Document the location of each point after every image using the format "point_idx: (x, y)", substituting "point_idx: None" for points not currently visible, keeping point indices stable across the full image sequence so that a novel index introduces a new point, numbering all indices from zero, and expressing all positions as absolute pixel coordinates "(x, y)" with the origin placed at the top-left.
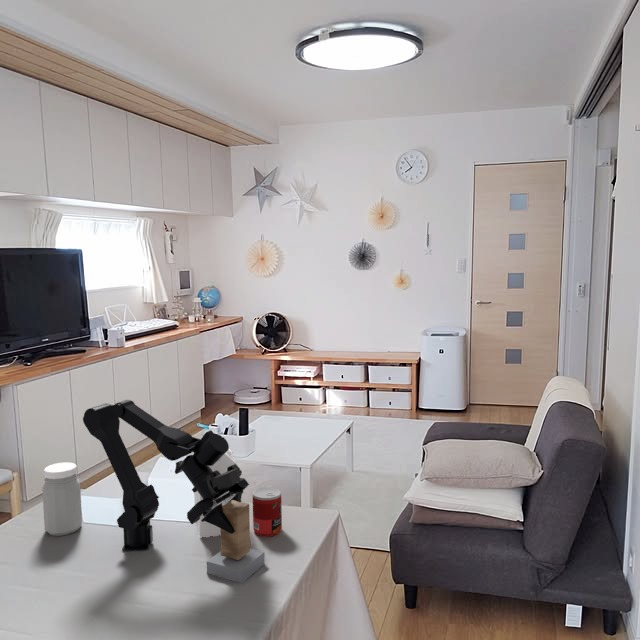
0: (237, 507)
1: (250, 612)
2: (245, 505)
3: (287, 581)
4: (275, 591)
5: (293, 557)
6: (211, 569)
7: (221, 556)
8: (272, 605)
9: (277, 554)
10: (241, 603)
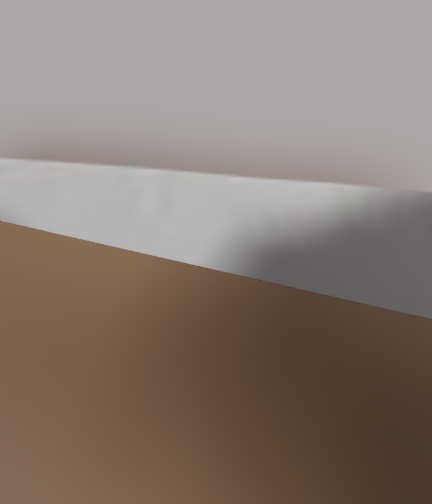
0: (312, 449)
1: (425, 256)
2: (130, 272)
3: (221, 197)
4: (291, 217)
5: (38, 215)
6: None
7: None
8: (363, 206)
9: None
10: (399, 301)
